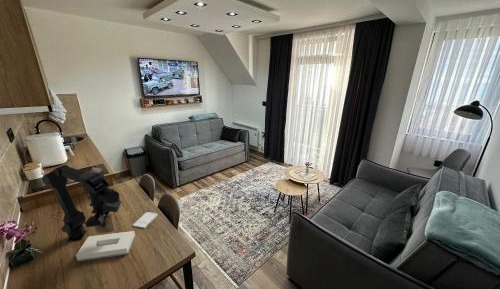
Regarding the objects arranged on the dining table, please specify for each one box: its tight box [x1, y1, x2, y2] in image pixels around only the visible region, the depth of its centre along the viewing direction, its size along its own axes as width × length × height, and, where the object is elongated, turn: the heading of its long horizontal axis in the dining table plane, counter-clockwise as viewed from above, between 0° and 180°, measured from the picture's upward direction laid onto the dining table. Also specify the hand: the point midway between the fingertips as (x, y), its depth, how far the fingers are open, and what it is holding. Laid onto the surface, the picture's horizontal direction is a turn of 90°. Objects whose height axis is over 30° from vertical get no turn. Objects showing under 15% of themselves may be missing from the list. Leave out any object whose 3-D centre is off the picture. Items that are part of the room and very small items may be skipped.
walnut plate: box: [94, 213, 117, 235], centre depth 104 cm, size 8×2×9 cm, turn 103°
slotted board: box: [75, 230, 136, 262], centre depth 106 cm, size 22×12×4 cm, turn 102°
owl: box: [87, 166, 106, 201], centre depth 150 cm, size 13×13×20 cm
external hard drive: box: [131, 211, 158, 229], centre depth 127 cm, size 2×8×12 cm
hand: (105, 225), depth 104 cm, fingers closed on walnut plate, 2 cm apart
